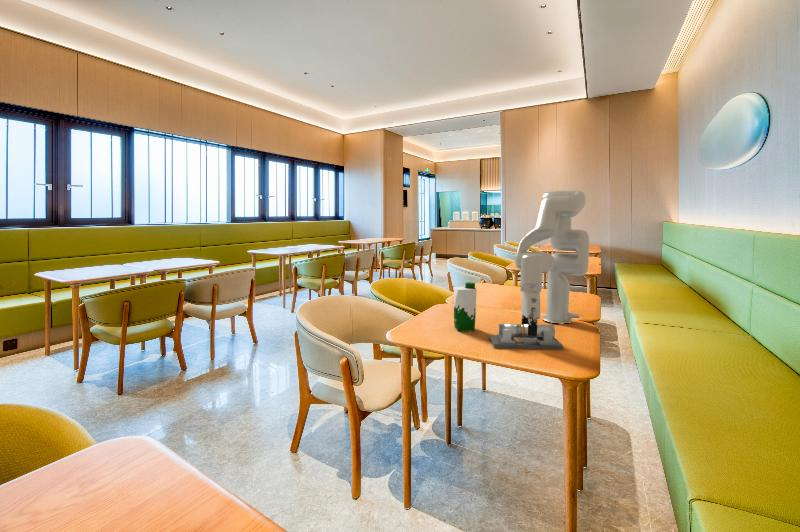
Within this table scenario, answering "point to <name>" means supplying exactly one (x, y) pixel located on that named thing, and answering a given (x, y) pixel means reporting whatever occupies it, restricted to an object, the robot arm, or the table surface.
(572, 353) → the table surface
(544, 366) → the table surface
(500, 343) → the cylinder mounting fixture
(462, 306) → the milk carton
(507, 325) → the banded metal cylinder
